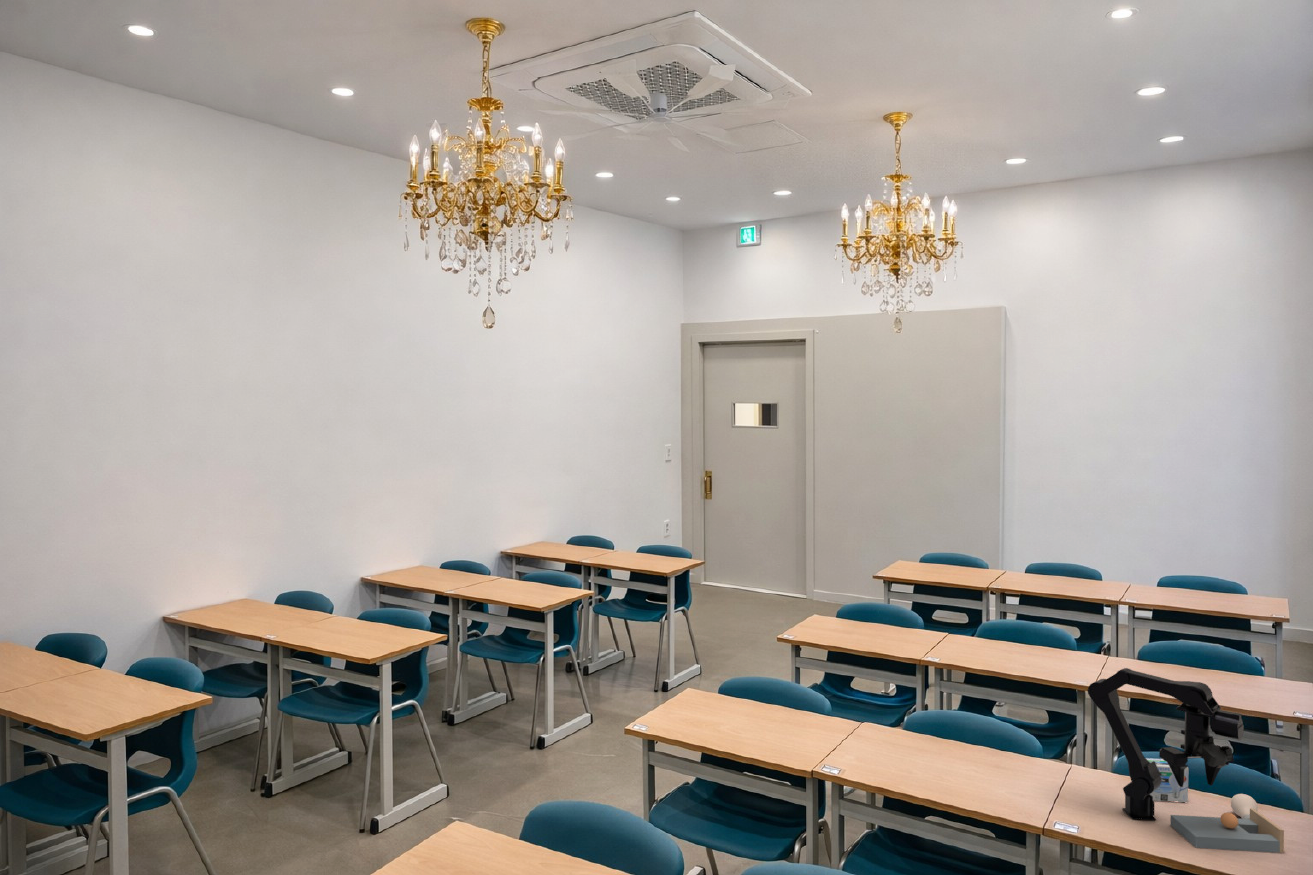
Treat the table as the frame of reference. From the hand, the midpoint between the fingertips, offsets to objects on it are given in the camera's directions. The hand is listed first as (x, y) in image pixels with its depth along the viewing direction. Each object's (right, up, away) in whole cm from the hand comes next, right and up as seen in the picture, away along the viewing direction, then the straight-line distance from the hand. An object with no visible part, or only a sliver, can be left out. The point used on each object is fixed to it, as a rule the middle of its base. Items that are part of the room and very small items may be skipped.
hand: (1195, 785), depth 230 cm
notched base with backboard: (+6, -13, -3) cm, 15 cm away
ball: (+7, -8, -3) cm, 11 cm away
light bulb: (+20, -14, +9) cm, 26 cm away
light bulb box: (+6, -14, +23) cm, 27 cm away
